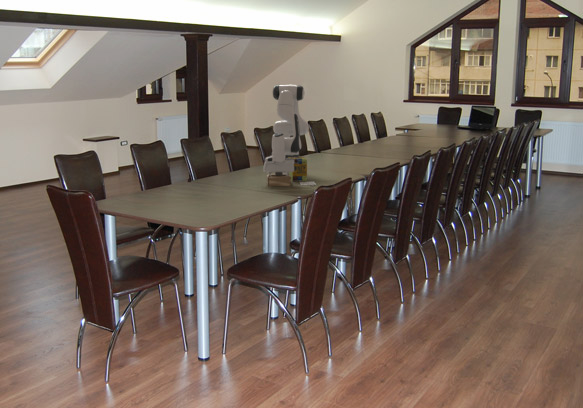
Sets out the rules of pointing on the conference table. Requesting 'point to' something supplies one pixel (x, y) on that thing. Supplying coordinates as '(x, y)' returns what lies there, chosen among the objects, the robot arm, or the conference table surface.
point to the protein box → (299, 169)
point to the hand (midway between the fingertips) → (278, 179)
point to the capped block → (278, 174)
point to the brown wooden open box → (279, 180)
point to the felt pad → (308, 183)
